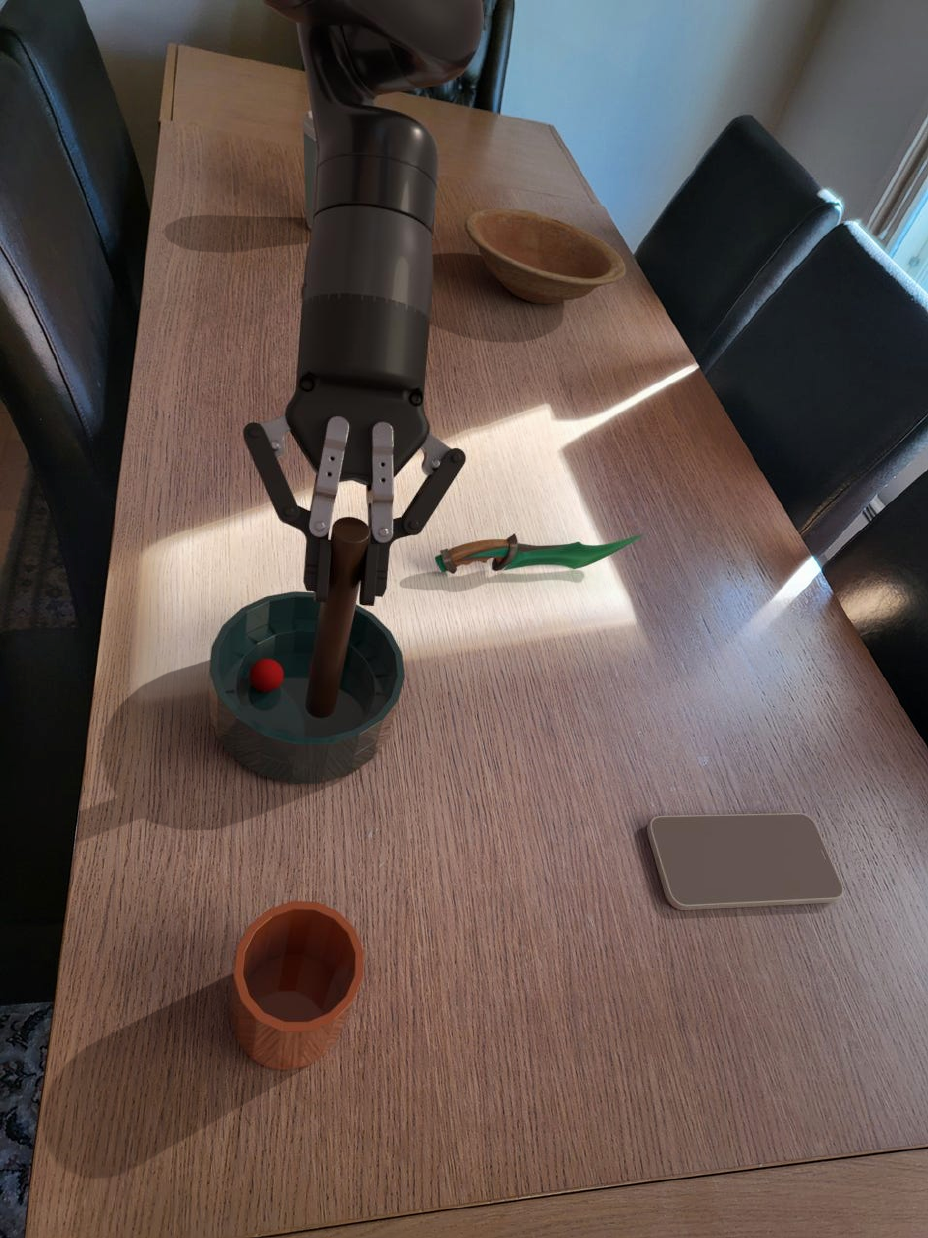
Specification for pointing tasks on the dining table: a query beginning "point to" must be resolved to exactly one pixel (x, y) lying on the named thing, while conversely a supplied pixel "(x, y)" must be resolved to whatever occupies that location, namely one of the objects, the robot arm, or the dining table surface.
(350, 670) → the mixing bowl
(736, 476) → the dining table surface
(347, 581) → the stirring stick
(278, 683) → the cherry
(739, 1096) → the dining table surface
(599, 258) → the bowl
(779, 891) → the smartphone
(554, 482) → the dining table surface
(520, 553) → the knife
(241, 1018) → the utensil cup
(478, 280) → the dining table surface
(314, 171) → the disposable coffee cup
